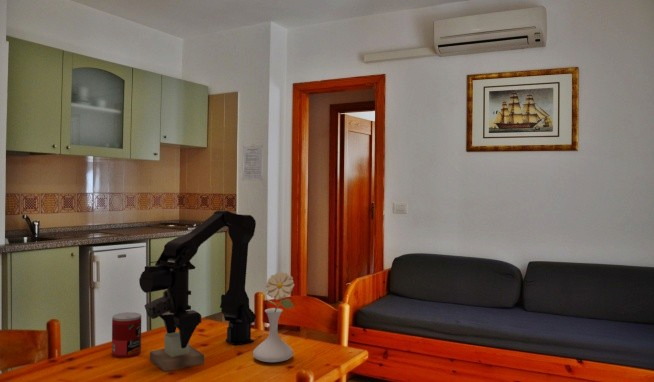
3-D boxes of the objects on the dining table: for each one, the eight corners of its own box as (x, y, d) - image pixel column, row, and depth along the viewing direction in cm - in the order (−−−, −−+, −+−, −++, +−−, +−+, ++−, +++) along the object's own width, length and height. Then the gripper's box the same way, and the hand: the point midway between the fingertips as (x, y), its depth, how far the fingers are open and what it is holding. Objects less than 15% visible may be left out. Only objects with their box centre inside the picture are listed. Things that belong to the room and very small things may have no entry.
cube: (181, 348, 144) (182, 331, 144) (189, 353, 141) (189, 335, 141) (164, 352, 141) (164, 334, 141) (171, 357, 137) (171, 338, 137)
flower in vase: (244, 360, 143) (245, 270, 143) (272, 350, 152) (273, 266, 152) (278, 370, 136) (279, 276, 135) (306, 359, 145) (307, 271, 144)
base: (187, 352, 149) (188, 344, 149) (203, 363, 140) (204, 354, 140) (149, 360, 142) (149, 351, 142) (164, 371, 133) (164, 362, 133)
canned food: (131, 359, 143) (131, 319, 143) (105, 356, 144) (106, 317, 144) (146, 350, 150) (146, 313, 150) (121, 348, 152) (122, 311, 152)
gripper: (137, 284, 143) (136, 340, 143) (160, 296, 129) (160, 358, 129) (175, 280, 150) (175, 334, 150) (202, 291, 135) (201, 350, 136)
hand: (177, 343), depth 141 cm, fingers open, 9 cm apart
